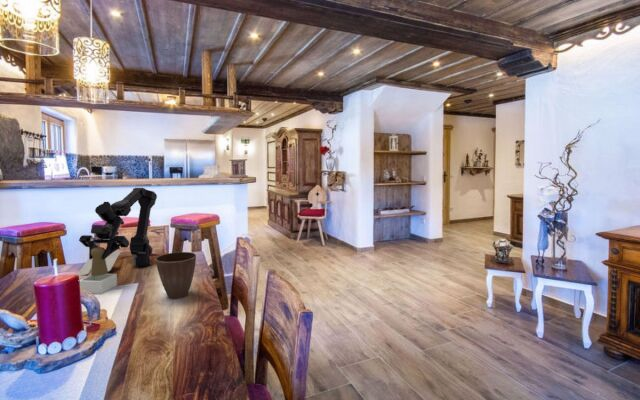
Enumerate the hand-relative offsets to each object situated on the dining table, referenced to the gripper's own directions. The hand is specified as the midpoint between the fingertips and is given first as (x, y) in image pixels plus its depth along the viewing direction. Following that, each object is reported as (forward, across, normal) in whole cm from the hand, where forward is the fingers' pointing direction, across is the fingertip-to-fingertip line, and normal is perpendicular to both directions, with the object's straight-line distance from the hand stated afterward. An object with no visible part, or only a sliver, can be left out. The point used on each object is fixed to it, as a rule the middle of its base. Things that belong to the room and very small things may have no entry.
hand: (96, 259), depth 143 cm
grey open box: (+9, -1, +10) cm, 13 cm away
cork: (+4, 0, +6) cm, 7 cm away
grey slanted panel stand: (-8, -15, +27) cm, 32 cm away
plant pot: (+13, +35, +6) cm, 38 cm away
